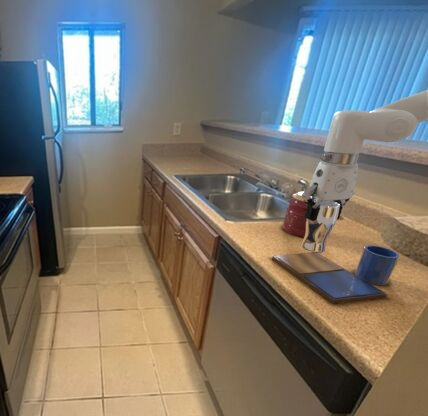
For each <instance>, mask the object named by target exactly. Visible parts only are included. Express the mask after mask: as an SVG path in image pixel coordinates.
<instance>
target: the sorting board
mask: <svg viewBox="0 0 428 416" xmlns="http://www.w3.org/2000/svg"><path fill="white" fill-rule="evenodd" d="M271 260H272V261H274V263H276V264H278V265H279V266H280V267H282V268H283V269H284V270H285V271H287V272H288V273H290V274H291V275H293V276H294V277H295V278H297V279H298V280H299V281H301V282H302V283H304V284H305V285H306V286H307V287H309V288H310V289H312V290H313V291H314V292H316V293H317V294H318V295H320V296H321V297H322V298H324V299H325V300H326V301H328V302H329V303H330V304H332V305H334V304H342V303H350V302H351V303H353V302H358V301H359V302H360V301H367V300H376V299H384V298H387V296H388V293H386V292H385V291H383V290H381V289H380V288H378V287H376V285H375V286H374V284H371V283H368V282H366V281H364V280H363V279H361V278H359V277H358V276H356V275H355V273H352V272H351V271H349V270H347V269H346V268H344V267H342V266H340V265H338V264H337V263H335V262H334V261H332V260H330V259H329V258H327V257H325V256H324V255H322V254H321V253H314V252H302V253H290V254H279V255H272V257H271Z"/></svg>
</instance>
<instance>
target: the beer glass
mask: <svg viewBox="0 0 428 416" xmlns="http://www.w3.org/2000/svg"><path fill="white" fill-rule="evenodd" d="M316 200H317V199H314V203H315V201H316ZM317 208H318V213H317V216H316V220H315V221H311V220H309V219H307V218H306V232H305V237H303V239H302V241H301V242H300V247H301V248H302V249H303V250H305V251H308V252H309V253H311V252H314V253H318V254H323V253H325V251H326V244H327V243H326V242H327V240H328V237H329V236H330V234H331V232H332V230H333V229H334V227H335V225H336V224H337V220H338V219H337V217H338V213H339V208H340V204H339V203H337V202H334V201H333V200H331V201H323V200H322V201H321V203H320V204H319V205H318V207H317Z"/></svg>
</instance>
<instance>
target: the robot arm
mask: <svg viewBox="0 0 428 416" xmlns="http://www.w3.org/2000/svg"><path fill="white" fill-rule="evenodd" d="M427 121H428V89H426V90H423V91H420V92H417V93H413V94H411V95H409V96H406V97H403V98H400V99H398V100H395V101H393V102H390V103H388V104H385V105H382V106H380V107H378V108H375V109H374V110H370V111H368V110H352V109H349V110H347V109H346V110H339V111H337V112H335V113H334V114H333V116H332V118H331V123H330V126H329V129H328V134H327V137H326V140H325V145H324V147H323V151H322V155H320V162H319V163H318V164H317V165H316V166H317V167H316V168H315V171H314V173H313V175H312V177H311V181H310V184H309V188H307V189H306V190H305V191H303V192H304V193H302V197H303V199H304V201H305V203H306V205H307V209H306V213H305V218H307V219H309V220H311V221H315V220H316V216H317V213H318V208H317V207H318V205H319V204H320V203H321V201H322V200H323V201H334V202H337V203H339V204H340V208H339V213H338V217H337V220H340V217H341V214H342V211H343V208H344V207H345V206H347V205H346V204H347V202H349V201H350V199H351V198H352V197H353V196H354V195H355V194H356V190H355V187H356V183H357V179H358V178H357V177H358V173H359V172H358V171H359V164H358V159H359V156H360V153H361V150H362V147H363V144H364V141H365V140H369V141H376V142H383V143H395V142H399V141H403V140H405V139H407V138H409V137H410V136H412V135H413V134H414V133H415V131H416V130H417V128H418V124H420V123H423V122H427ZM310 196H311V197H310ZM314 199H317V200H316V201H315V203H314Z"/></svg>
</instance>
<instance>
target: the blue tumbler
mask: <svg viewBox="0 0 428 416" xmlns="http://www.w3.org/2000/svg"><path fill="white" fill-rule="evenodd" d="M399 258H400V255H399V253H398V252H396V251H394V250H392V249H391V248H387V247H384V246H379V245H371V244H370V245H369V244H368V245H365V246H364V247H363V250H362V253H361V255H360V258H359V260H358V263H357V266H356V269H355V272H354V275H356V276H358V277H359V278H361V279H363V280H364V281H366V282H368V283H369V284H371V285H375V286H386V285H387V284H388V283H389V282H390V280H391V276H392V275H393V272H394V270H395V268H396V266H397V262H398V260H399Z"/></svg>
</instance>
